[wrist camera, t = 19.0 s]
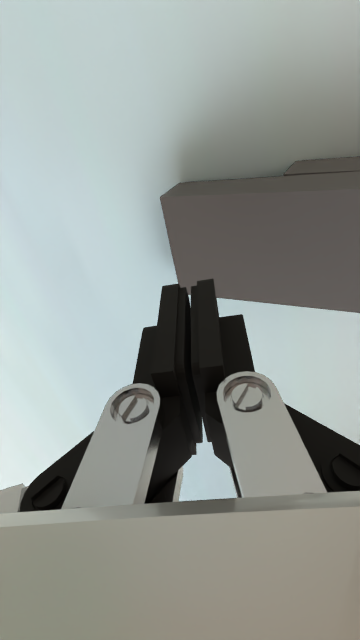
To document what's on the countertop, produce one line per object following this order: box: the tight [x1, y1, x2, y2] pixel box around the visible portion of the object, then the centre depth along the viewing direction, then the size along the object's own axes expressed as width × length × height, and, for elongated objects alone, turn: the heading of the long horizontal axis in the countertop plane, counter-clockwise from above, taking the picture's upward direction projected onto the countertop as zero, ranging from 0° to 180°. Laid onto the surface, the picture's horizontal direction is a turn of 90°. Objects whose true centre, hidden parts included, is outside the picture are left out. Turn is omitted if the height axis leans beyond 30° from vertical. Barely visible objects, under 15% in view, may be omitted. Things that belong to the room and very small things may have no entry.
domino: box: [160, 171, 360, 313], centre depth 14 cm, size 5×2×10 cm
